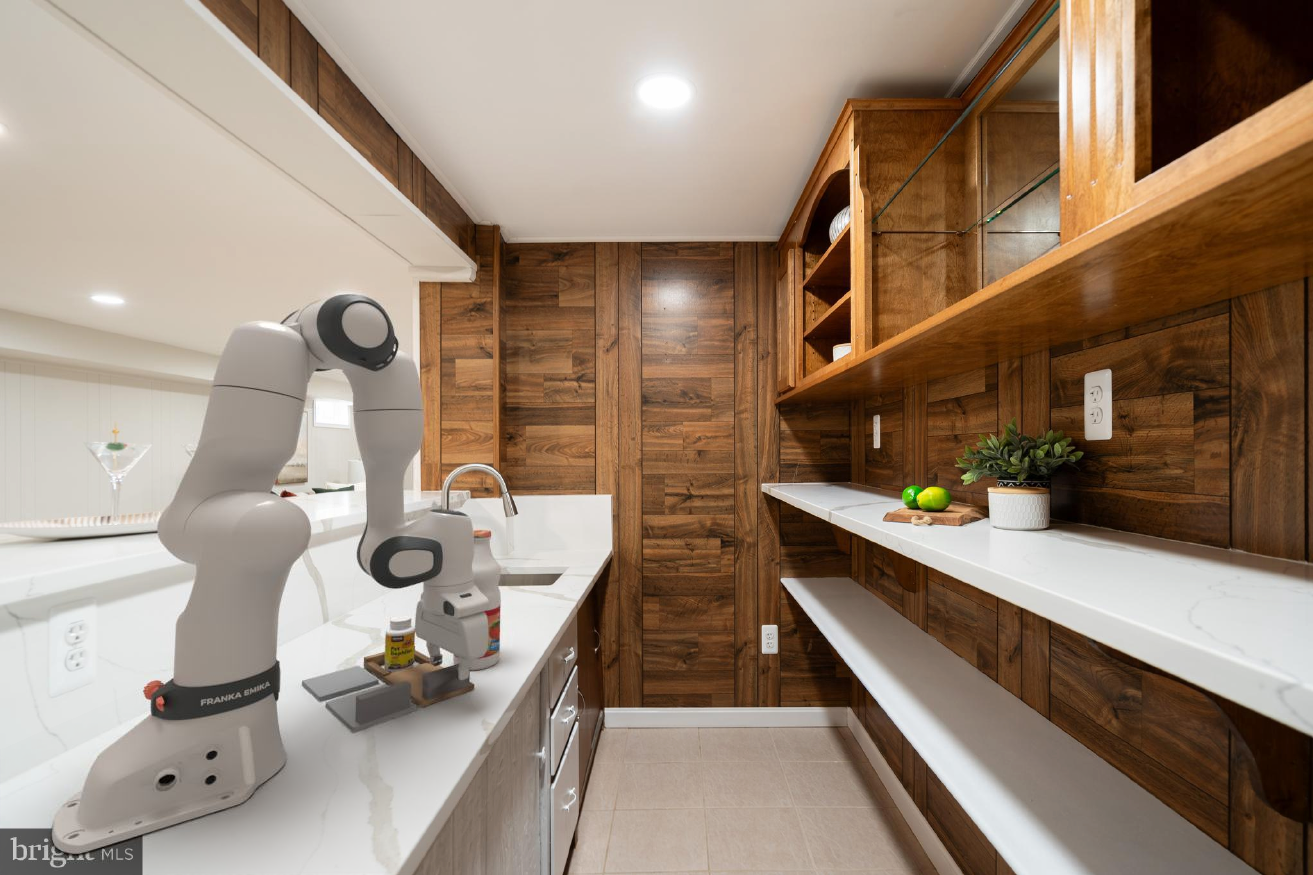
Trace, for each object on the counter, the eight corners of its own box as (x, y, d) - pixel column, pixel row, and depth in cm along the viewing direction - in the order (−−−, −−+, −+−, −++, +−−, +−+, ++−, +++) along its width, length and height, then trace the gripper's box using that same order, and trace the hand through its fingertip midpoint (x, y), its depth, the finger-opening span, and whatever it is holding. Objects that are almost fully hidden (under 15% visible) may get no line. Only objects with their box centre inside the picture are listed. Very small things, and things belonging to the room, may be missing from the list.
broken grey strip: (353, 732, 83) (353, 701, 83) (301, 684, 101) (302, 659, 101) (416, 710, 91) (416, 682, 91) (358, 669, 108) (359, 645, 108)
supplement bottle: (386, 675, 105) (387, 624, 106) (382, 666, 110) (384, 617, 110) (416, 669, 108) (417, 619, 109) (411, 660, 113) (413, 612, 113)
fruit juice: (451, 658, 114) (454, 529, 116) (495, 651, 118) (498, 527, 120) (455, 674, 106) (458, 535, 107) (503, 666, 110) (505, 532, 111)
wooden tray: (421, 707, 92) (422, 679, 92) (363, 667, 109) (364, 643, 109) (474, 688, 99) (474, 662, 99) (412, 653, 116) (412, 631, 117)
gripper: (406, 590, 102) (405, 662, 101) (462, 610, 89) (461, 693, 88) (437, 583, 106) (437, 652, 106) (494, 602, 93) (494, 680, 93)
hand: (448, 671), depth 97 cm, fingers open, 8 cm apart
